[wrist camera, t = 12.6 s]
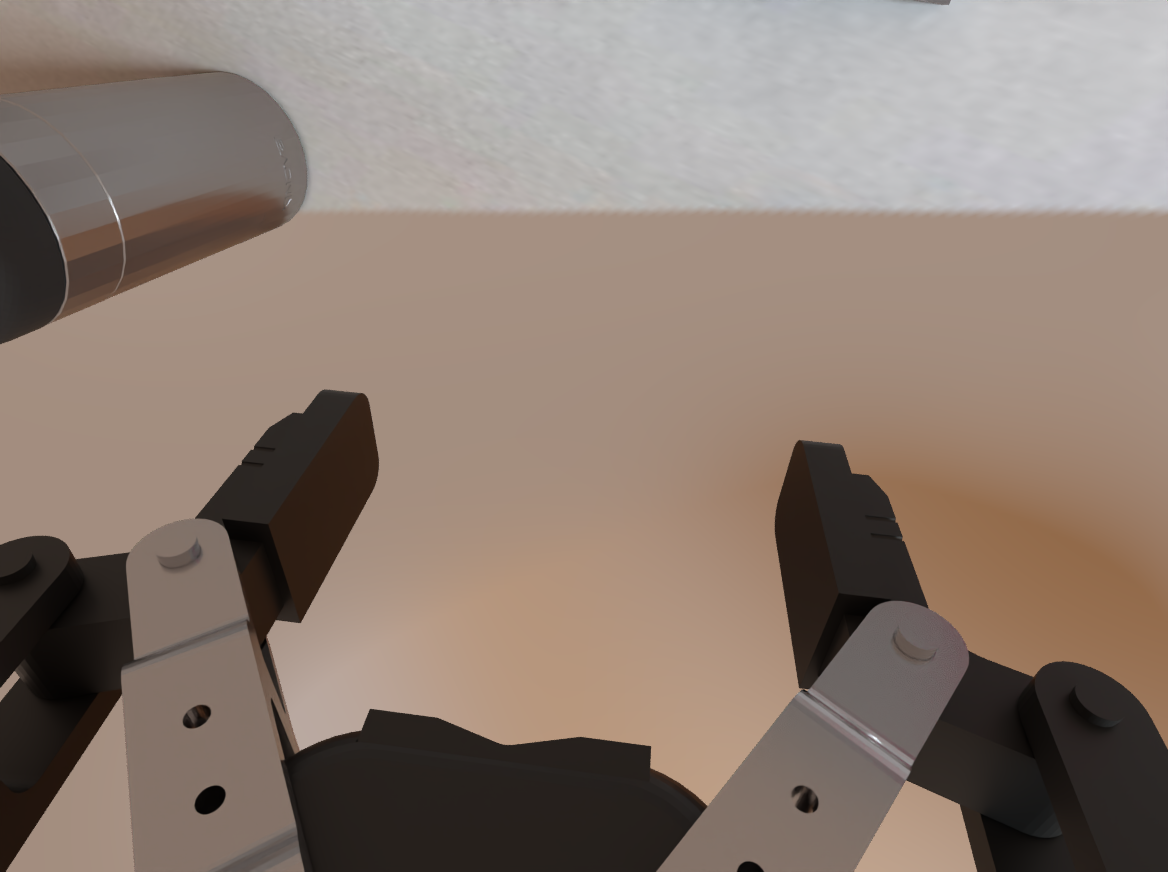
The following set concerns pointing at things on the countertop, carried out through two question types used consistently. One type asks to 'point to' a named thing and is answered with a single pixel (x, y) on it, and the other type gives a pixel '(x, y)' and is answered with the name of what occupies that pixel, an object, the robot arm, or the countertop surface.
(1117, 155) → the countertop surface
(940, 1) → the fader track
